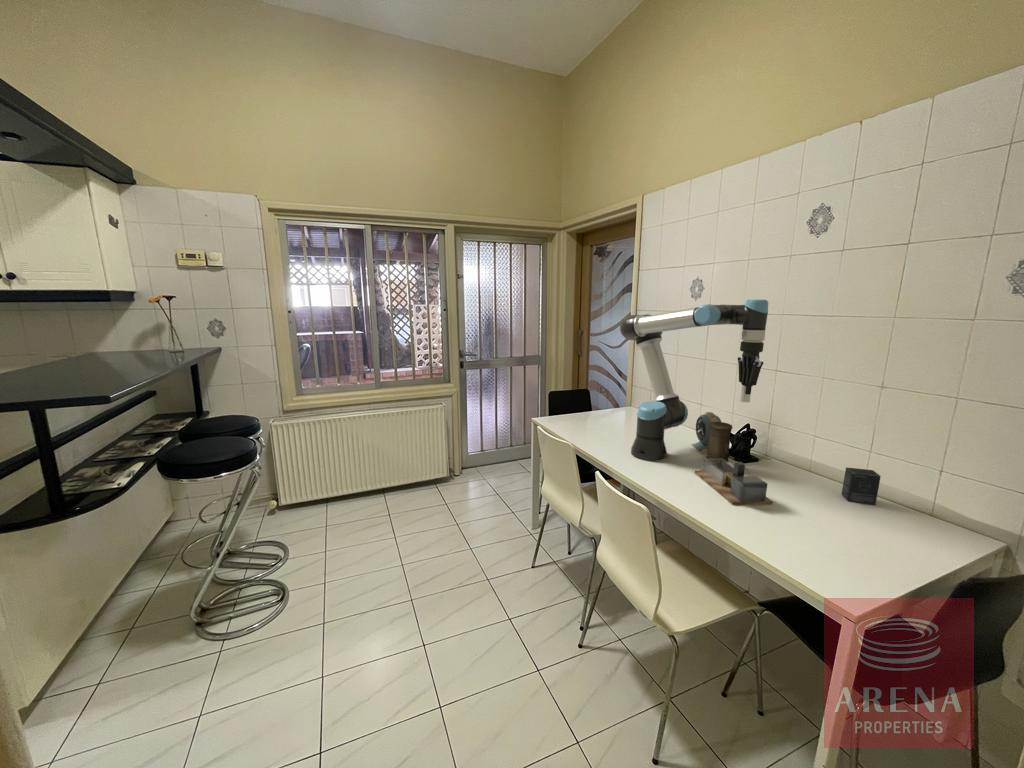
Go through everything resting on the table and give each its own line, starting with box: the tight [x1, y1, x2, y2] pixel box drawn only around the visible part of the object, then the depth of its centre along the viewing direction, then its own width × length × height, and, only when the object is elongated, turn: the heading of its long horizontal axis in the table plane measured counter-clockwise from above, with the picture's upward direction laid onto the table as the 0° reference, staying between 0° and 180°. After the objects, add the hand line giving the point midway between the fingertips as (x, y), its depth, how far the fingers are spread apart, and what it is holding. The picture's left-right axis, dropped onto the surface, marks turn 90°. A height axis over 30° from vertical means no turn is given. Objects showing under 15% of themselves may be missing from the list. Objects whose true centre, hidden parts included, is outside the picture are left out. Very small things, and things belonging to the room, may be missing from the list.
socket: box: [730, 475, 768, 502], centre depth 137 cm, size 6×8×6 cm
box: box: [841, 466, 882, 506], centre depth 138 cm, size 8×6×11 cm
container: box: [705, 421, 733, 463], centre depth 166 cm, size 9×9×18 cm
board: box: [694, 469, 774, 506], centre depth 148 cm, size 26×14×1 cm, turn 3°
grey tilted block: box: [701, 458, 734, 486], centre depth 153 cm, size 14×8×5 cm, turn 3°
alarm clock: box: [690, 411, 722, 455], centre depth 185 cm, size 14×10×18 cm
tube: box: [725, 461, 746, 486], centre depth 142 cm, size 14×4×10 cm, turn 3°
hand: (744, 401), depth 156 cm, fingers closed
